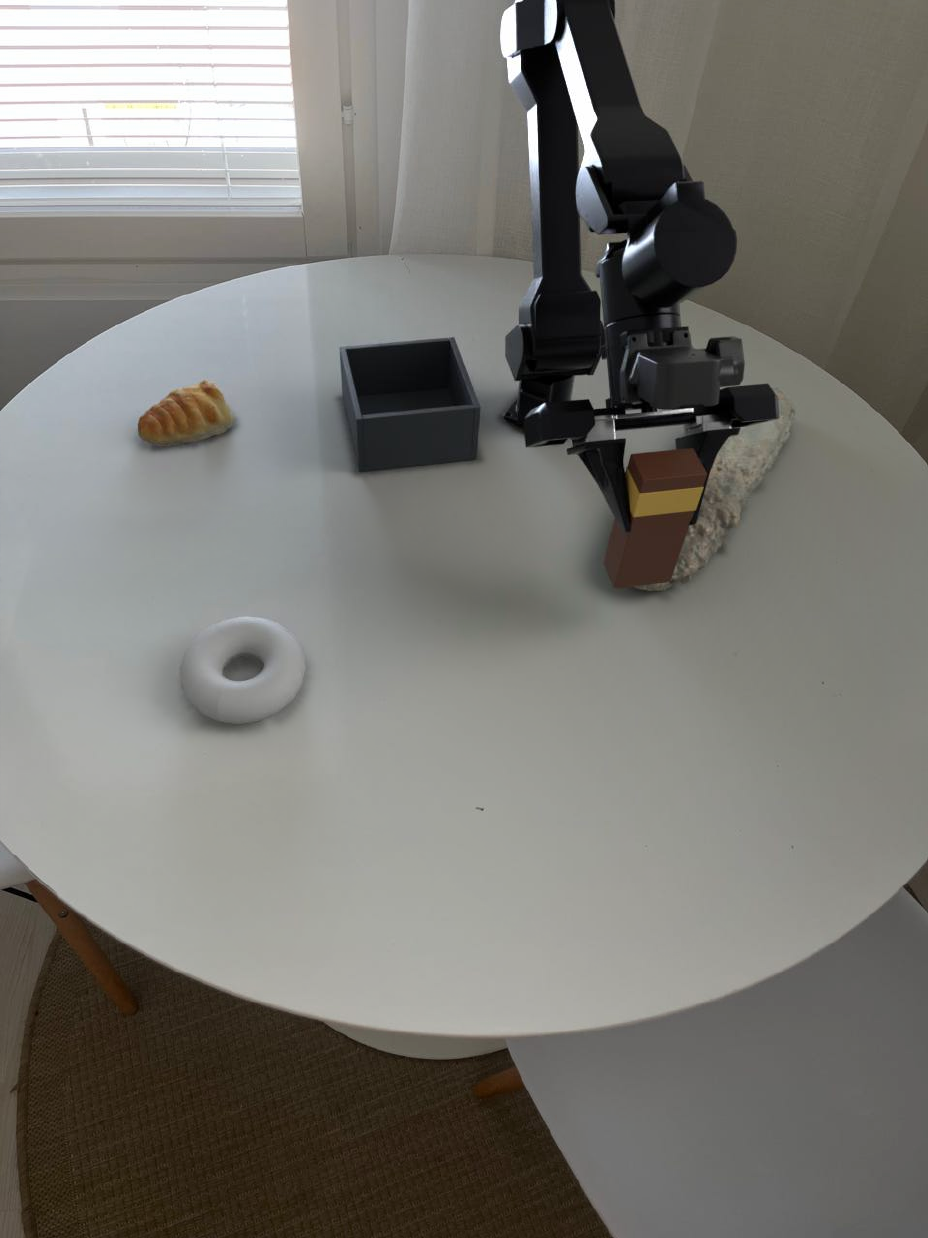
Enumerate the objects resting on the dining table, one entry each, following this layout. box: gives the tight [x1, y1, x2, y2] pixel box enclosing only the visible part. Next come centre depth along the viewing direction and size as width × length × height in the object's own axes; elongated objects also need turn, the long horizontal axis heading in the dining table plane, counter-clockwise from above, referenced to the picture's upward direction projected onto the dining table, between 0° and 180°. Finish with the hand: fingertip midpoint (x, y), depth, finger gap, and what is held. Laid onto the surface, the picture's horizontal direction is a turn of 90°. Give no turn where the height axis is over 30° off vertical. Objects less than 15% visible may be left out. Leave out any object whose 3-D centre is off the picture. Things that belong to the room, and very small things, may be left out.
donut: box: [179, 615, 307, 725], centre depth 73 cm, size 10×4×10 cm
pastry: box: [137, 379, 235, 448], centre depth 93 cm, size 9×7×4 cm
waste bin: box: [338, 336, 482, 473], centre depth 94 cm, size 12×12×7 cm
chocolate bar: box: [603, 448, 707, 590], centre depth 72 cm, size 3×5×12 cm, turn 102°
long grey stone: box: [633, 387, 796, 592], centre depth 91 cm, size 35×5×10 cm
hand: (658, 528), depth 71 cm, fingers closed on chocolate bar, 5 cm apart
